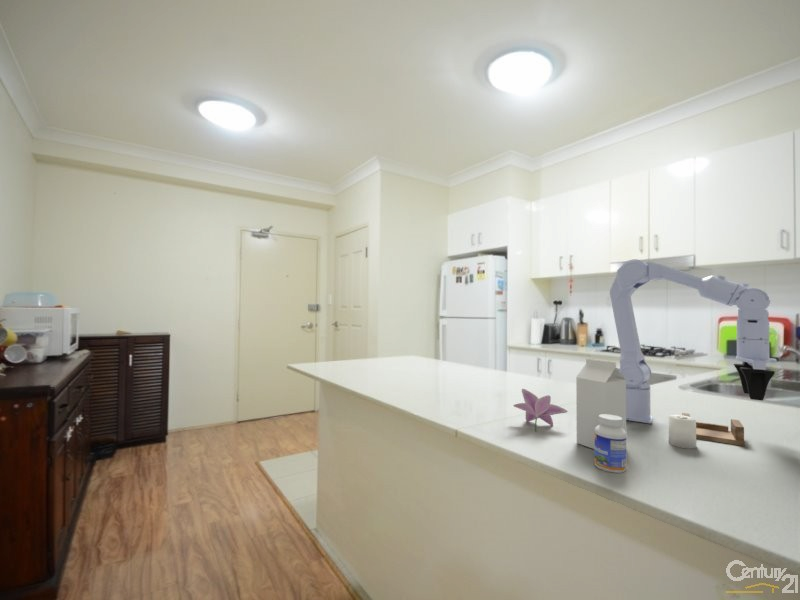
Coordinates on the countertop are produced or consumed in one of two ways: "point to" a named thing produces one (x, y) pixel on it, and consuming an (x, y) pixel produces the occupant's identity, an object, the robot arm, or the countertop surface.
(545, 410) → the lily
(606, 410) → the milk carton
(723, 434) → the holder
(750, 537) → the countertop surface
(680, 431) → the paper roll
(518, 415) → the countertop surface
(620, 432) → the pill bottle
